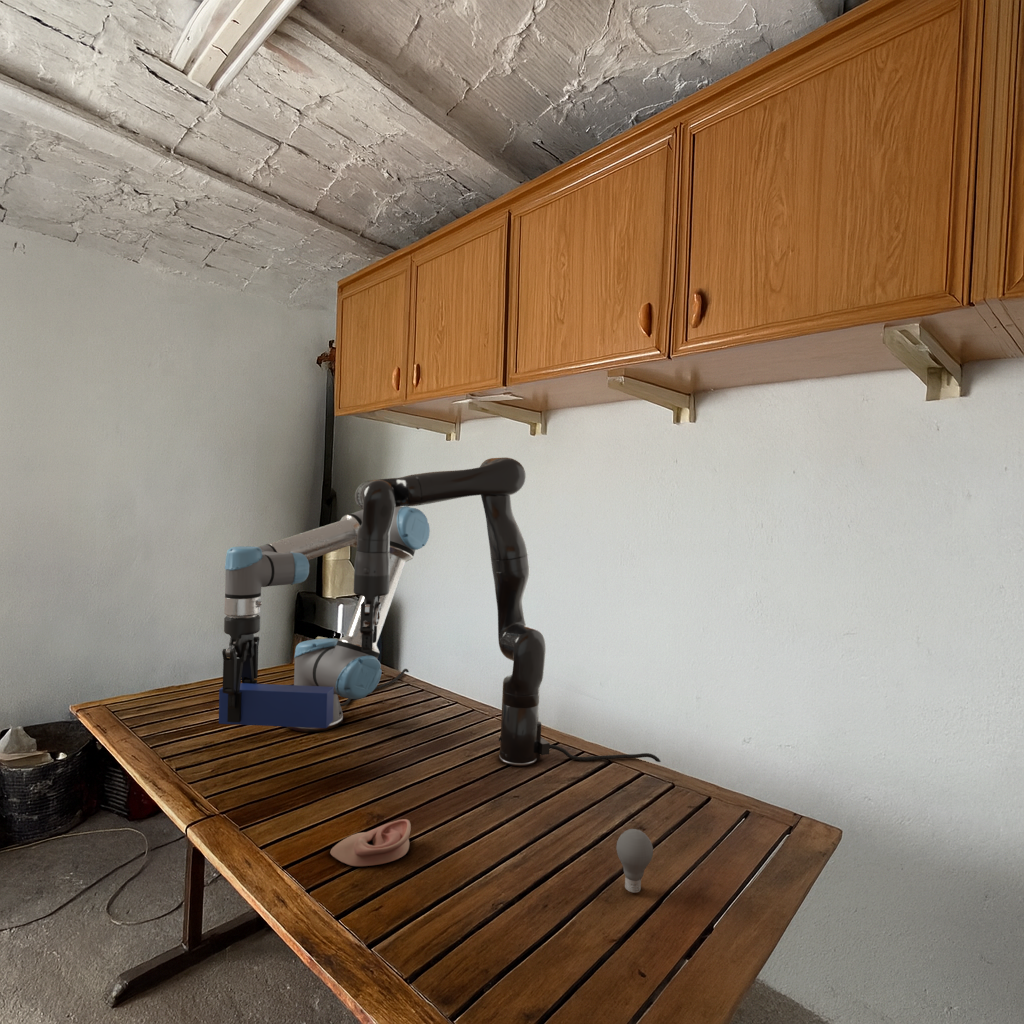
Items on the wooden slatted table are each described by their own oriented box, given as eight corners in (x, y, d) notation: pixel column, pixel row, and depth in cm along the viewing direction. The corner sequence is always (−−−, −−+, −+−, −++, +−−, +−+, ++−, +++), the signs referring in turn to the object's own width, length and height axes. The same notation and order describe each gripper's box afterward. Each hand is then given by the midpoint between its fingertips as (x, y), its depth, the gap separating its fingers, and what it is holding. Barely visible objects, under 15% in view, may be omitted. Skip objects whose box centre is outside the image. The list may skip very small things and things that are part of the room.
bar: (218, 723, 142) (219, 689, 141) (228, 716, 146) (229, 682, 146) (326, 728, 141) (327, 693, 141) (333, 720, 146) (333, 686, 145)
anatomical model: (322, 838, 110) (352, 807, 121) (321, 861, 110) (351, 828, 121) (394, 850, 107) (417, 817, 119) (393, 873, 107) (416, 838, 119)
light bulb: (610, 879, 108) (613, 822, 108) (644, 879, 109) (647, 822, 109) (619, 902, 102) (622, 840, 102) (655, 901, 103) (658, 840, 103)
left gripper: (240, 623, 134) (237, 732, 135) (275, 608, 152) (272, 704, 153) (205, 622, 134) (203, 730, 135) (244, 607, 152) (241, 703, 153)
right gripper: (386, 576, 130) (383, 655, 131) (392, 569, 144) (389, 639, 145) (349, 575, 129) (346, 654, 130) (358, 568, 144) (355, 639, 144)
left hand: (239, 716), depth 144 cm, fingers closed on bar, 5 cm apart
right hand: (369, 646), depth 137 cm, fingers open, 8 cm apart
